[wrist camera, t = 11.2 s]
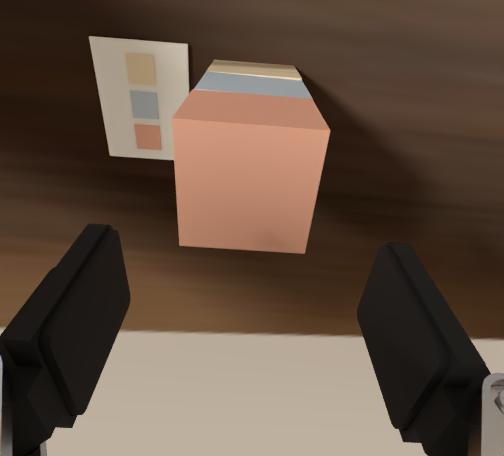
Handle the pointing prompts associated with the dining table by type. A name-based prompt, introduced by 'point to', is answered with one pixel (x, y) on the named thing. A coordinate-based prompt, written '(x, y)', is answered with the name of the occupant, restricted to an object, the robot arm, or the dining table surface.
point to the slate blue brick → (253, 85)
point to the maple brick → (255, 69)
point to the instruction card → (140, 93)
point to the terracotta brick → (247, 170)
